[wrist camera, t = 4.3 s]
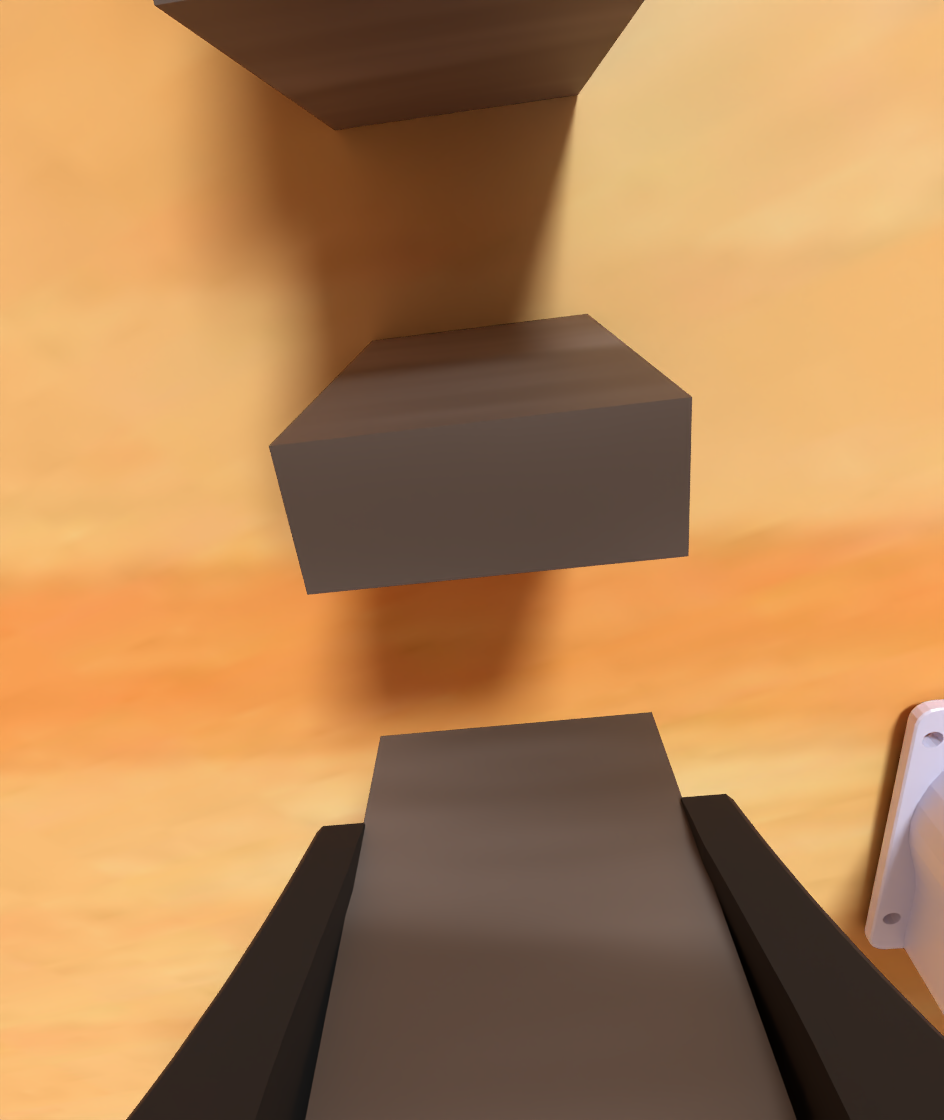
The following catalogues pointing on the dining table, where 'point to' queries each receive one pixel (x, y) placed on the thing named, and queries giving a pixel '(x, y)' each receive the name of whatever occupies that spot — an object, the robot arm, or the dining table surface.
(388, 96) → the domino
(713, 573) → the dining table surface
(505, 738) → the domino
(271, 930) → the robot arm
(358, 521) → the domino
